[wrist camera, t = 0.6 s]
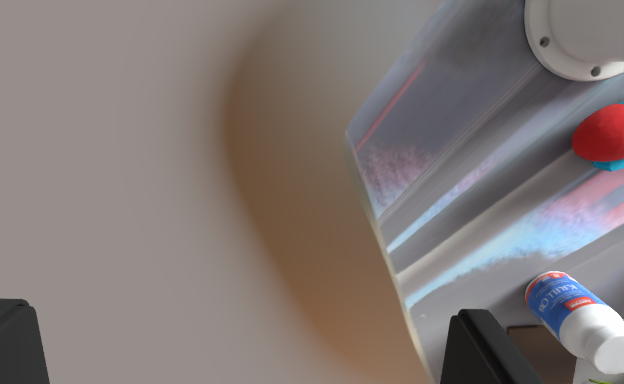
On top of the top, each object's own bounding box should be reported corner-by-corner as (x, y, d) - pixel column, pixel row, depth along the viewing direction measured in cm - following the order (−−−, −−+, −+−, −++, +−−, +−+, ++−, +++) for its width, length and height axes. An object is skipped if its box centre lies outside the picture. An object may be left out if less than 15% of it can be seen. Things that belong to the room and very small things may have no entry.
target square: (507, 327, 43) (509, 329, 42) (579, 321, 43) (582, 324, 42) (501, 386, 45) (503, 389, 45) (570, 381, 45) (572, 384, 45)
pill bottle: (552, 259, 41) (627, 314, 31) (583, 290, 42) (664, 351, 32) (512, 294, 42) (573, 357, 32) (543, 323, 43) (610, 392, 33)
